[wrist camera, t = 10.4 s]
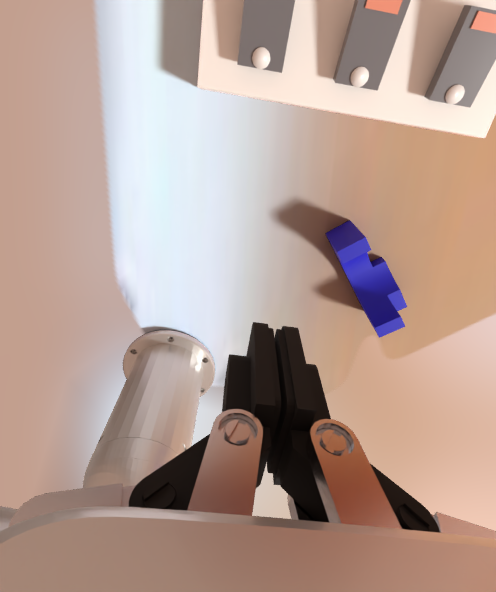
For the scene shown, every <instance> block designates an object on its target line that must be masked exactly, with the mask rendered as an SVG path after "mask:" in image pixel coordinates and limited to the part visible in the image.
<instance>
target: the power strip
mask: <svg viewBox="0 0 496 592" xmlns="http://www.w3.org/2000/svg"><path fill="white" fill-rule="evenodd" d="M354 2H355V0H295V4H294V9H293V15H292V20H291V26H290V31H289V37H288V43H287V48H286V54H285V59H284V65H283V70H282V73H279V72H274V71H269V70H263V69H258V68H252V67H247V66H241V65H237V63H238V53H239V44H240V34H241V25H242V16H243V6H244V0H203V11H202V26H201V40H200V55H199V69H198V84H197V87H198V88H200V89H203V90H208V91H214V92H220V93H225V94H231V95H237V96H242V97H248V98H253V99H259V100H265V101H270V102H276V103H282V104H287V105H293V106H299V107H304V108H310V109H315V110H321V111H327V112H332V113H338V114H344V115H349V116H355V117H361V118H366V119H372V120H378V121H383V122H389V123H394V124H400V125H406V126H411V127H417V128H423V129H428V130H434V131H440V132H445V133H451V134H456V135H462V136H470V137H479V138H485V137H486V135H487V132H488V130H489V128H490V126H491V123H492V121H493V119H494V117H495V114H496V60H495V62H494V64H493V66H492V68H491V70H490V71H489V73H488V75H487V77H486V79H485V81H484V83H483V85H482V87H481V88H480V90H479V92H478V94H477V96H476V98H475V100H474V102H473V103H472V105H471V107H470V108H469V107H464V106H458V105H453V104H448V103H442V102H437V101H431V100H428V99H427V98H425V97H424V96H425V94H426V91H427V89H428V87H429V85H430V82H431V80H432V78H433V75H434V73H435V71H436V69H437V66H438V64H439V62H440V60H441V57H442V55H443V53H444V50H445V48H446V46H447V44H448V41H449V39H450V37H451V35H452V32H453V30H454V28H455V25H456V23H457V21H458V19H459V16H460V14H461V12H462V10H463V7H464V5H472V6H477V7H482V8H486V9H491V10H496V0H411V1H410V4H409V6H408V9H407V12H406V15H405V17H404V20H403V23H402V25H401V28H400V31H399V34H398V36H397V39H396V42H395V44H394V47H393V50H392V53H391V55H390V58H389V61H388V63H387V66H386V69H385V72H384V74H383V77H382V80H381V82H380V85H379V88H378V91H377V90H371V89H366V88H360V87H355V86H349V85H344V84H338V83H335V82H334V80H333V77H334V73H335V70H336V66H337V63H338V59H339V56H340V52H341V48H342V45H343V41H344V38H345V34H346V31H347V27H348V23H349V20H350V16H351V13H352V9H353V6H354Z"/></svg>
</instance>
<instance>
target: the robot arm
mask: <svg viewBox="0 0 496 592" xmlns="http://www.w3.org/2000/svg"><path fill="white" fill-rule="evenodd" d="M123 370H124V374H125V377H126V379H127V380H126V382H125V385H124V387H123V389H122V391H121V394H120V396H119V398H118V400H117V402H116V405H115V407H114V409H113V411H112V413H111V416H110V418H109V420H108V422H107V424H106V427H105V429H104V431H103V433H102V436H101V438H100V440H99V442H98V444H97V447H96V449H95V451H94V453H93V455H92V457H91V460H90V462H89V464H88V467H87V470H86V472H85V476H84V481H83V488H82V489H74V490H67V491H59V492H52V493H45V494H42V495H39V496H35V497H34V498H32V499H30V500H29V501H27V502H25V503H24V504H23V505H22V506H21V507H20V508H19V509H13V508H8V507H2V506H0V592H496V531H494V530H491V529H488V528H485V527H481V526H478V525H475V524H472V523H469V522H466V521H463V520H460V519H456V518H454V517H450V516H447V515H444V514H441V513H438V512H436V513H435V515H431V514H430V512H429V511H428V510H427V509H426V508H425V507H424V506H423V505H421V504H420V503H419V502H418V501H417V500H415V499H414V498H413V497H412V496H410V495H409V494H408V493H406V492H405V491H404V490H403V489H402V488H400V487H399V486H398V485H396V484H395V483H394V482H393V481H391V480H390V479H389V478H388V477H386V476H385V475H384V474H383V473H381V472H380V471H379V470H377V469H376V468H375V467H374V466H373V465H371V464H370V463H369V461H368V459H367V457H366V455H365V453H364V451H363V449H362V447H361V445H360V443H359V441H358V439H357V437H356V436H355V434H354V432H353V431H351V429H349V428H348V427H347V426H346V425H344V424H343V423H341V422H339V421H336V420H332V419H331V418H330V414H329V410H328V407H327V403H326V399H325V395H324V392H323V388H322V384H321V380H320V377H319V373H318V369H317V367H316V365H312V364H306V361H305V356H304V352H303V348H302V343H301V339H300V335H299V330H298V328H294V327H286V326H283V327H282V329H281V330H280V329H277V330H276V334H275V338H274V331H273V329H272V328H268V324H263V323H256V322H253V325H252V330H251V335H250V341H249V346H248V351H247V356H238V355H230V354H229V359H228V365H227V371H226V378H225V386H224V396H223V409H222V413H221V414H220V415H219V416H217V417H216V419H215V421H214V423H213V427H212V430H211V433H210V434H209V435H208V436H206V437H205V438H203V439H202V440H200V441H199V442H197V443H196V444H194V445H193V446H191V444H192V439H193V432H194V427H195V421H196V415H197V409H198V403H199V397H201V396H202V395H204V394H205V393H206V392H207V391H208V389H209V388H210V387H211V385H212V383H213V380H214V375H215V364H214V360H213V357H212V355H211V354H210V352H209V350H208V349H207V348H206V347H205V346H204V345H203V344H202V343H201V342H199V341H198V340H197V339H195V338H193V337H191V336H189V335H187V334H184V333H181V332H177V331H170V330H160V331H153V332H150V333H147V334H144V335H142V336H141V337H139V338H137V339H136V340H135V341H134V342H133V343H132V344H131V345H130V346H129V348H128V350H127V352H126V354H125V356H124V360H123ZM266 462H267V470H268V473H273V478H274V479H273V480H274V485H281V487H282V488H283V489H284V490H285V491H286V492H287V493H288V506H289V510H290V514H291V518H292V519H283V518H271V517H259V516H252V512H253V505H254V497H255V490H256V488H257V487H258V486H259V485H260V483H261V480H262V476H263V472H264V469H265V466H266Z"/></svg>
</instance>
